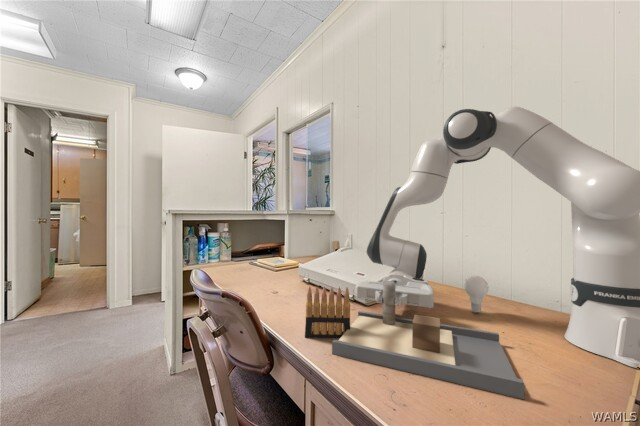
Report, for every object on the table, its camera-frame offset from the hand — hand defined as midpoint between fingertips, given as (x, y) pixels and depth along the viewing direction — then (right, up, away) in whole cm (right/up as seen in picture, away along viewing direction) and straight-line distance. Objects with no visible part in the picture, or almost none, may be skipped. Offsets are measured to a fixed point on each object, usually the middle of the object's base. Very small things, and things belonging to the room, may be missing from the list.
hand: (388, 301), depth 65 cm
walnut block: (+5, -5, -11) cm, 13 cm away
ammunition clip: (-15, -8, -3) cm, 17 cm away
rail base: (+4, -7, -8) cm, 12 cm away
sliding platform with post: (0, -6, -6) cm, 9 cm away
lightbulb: (+30, -8, +14) cm, 34 cm away
